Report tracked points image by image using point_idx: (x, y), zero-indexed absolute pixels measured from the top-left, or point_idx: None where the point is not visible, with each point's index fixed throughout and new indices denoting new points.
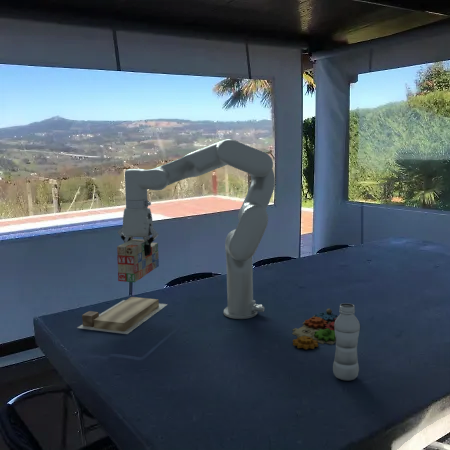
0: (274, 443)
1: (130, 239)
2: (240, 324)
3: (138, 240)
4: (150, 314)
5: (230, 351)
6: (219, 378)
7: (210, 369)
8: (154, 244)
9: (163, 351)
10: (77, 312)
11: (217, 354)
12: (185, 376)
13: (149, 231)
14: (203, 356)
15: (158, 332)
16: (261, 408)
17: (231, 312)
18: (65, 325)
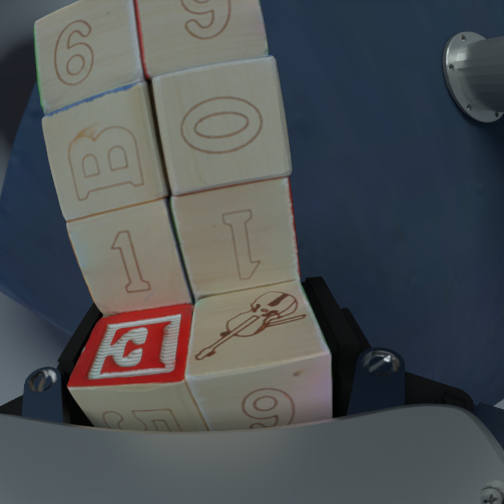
0: (493, 404)
1: (65, 407)
2: (492, 151)
3: (206, 428)
4: None
5: (485, 286)
6: (468, 359)
7: (458, 347)
8: (259, 51)
9: (378, 335)
10: (18, 216)
11: (468, 304)
12: (428, 376)
13: (424, 482)
14: (448, 320)
15: (329, 259)
16: (496, 379)
17: (475, 105)
18: (64, 298)
